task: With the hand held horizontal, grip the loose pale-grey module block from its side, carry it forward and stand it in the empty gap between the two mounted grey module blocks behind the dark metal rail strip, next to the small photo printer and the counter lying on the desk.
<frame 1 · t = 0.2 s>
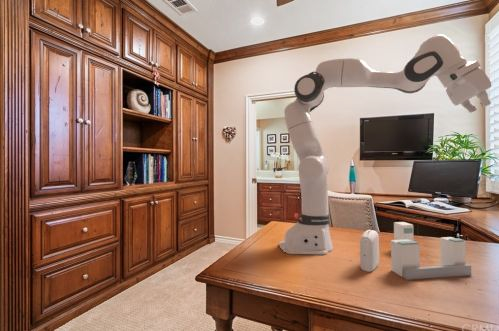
hand: (480, 108, 84), 54 cm above the table, fingers open, 8 cm apart
din mount: (423, 267, 83), on the table
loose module: (403, 250, 99), on the table
photo printer: (370, 267, 85), on the table
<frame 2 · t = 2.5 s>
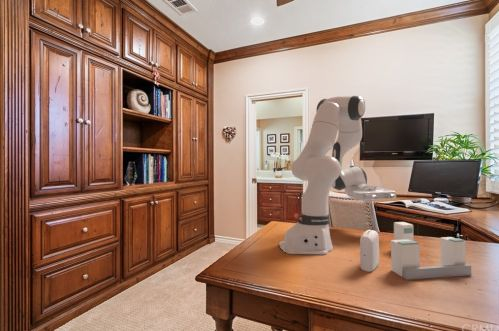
hand: (383, 197, 111), 20 cm above the table, fingers open, 8 cm apart
nothing on the table moved.
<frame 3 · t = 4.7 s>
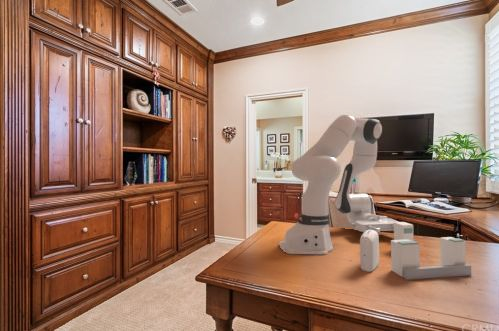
hand: (388, 230, 108), 6 cm above the table, fingers open, 8 cm apart
nothing on the table moved.
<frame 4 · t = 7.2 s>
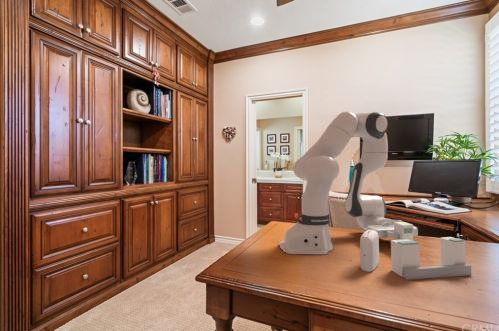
hand: (405, 236, 98), 6 cm above the table, fingers closed on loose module, 4 cm apart
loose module: (403, 250, 99), on the table, touching gripper
everything else where it was.
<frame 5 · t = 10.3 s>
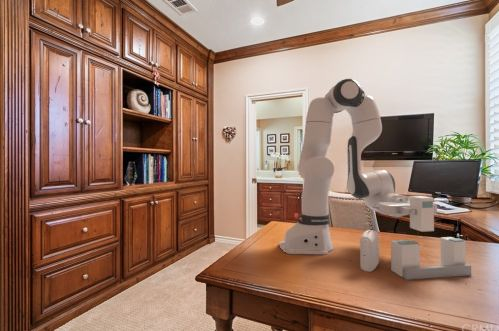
hand: (423, 212, 83), 19 cm above the table, fingers closed on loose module, 4 cm apart
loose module: (421, 229, 84), point 13 cm above the table, touching gripper
everything else where it was.
when the fingers open (7 cm above the table, at t = 13.4 s): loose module stays where it is, on the table.
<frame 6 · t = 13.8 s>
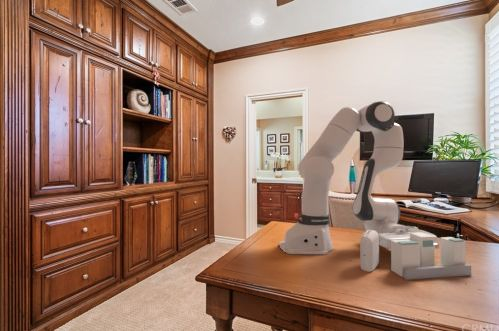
hand: (424, 247, 83), 7 cm above the table, fingers open, 8 cm apart
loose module: (422, 266, 84), on the table
everything else where it was.
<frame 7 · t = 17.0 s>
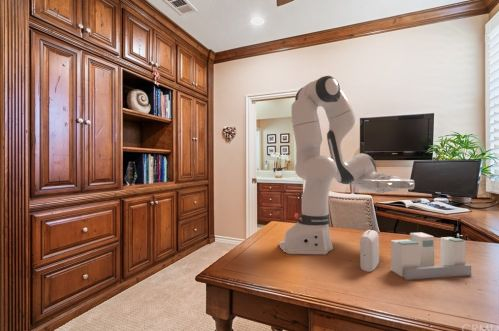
hand: (401, 185, 94), 27 cm above the table, fingers open, 8 cm apart
nothing on the table moved.
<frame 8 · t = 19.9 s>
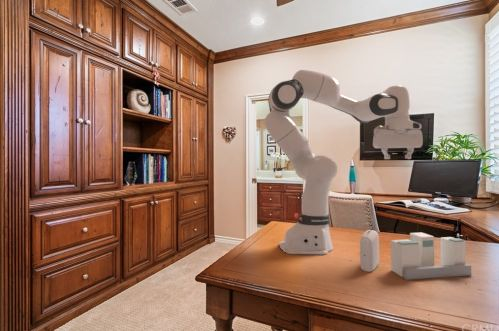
hand: (397, 158, 103), 37 cm above the table, fingers open, 8 cm apart
nothing on the table moved.
at the end: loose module 0.1 cm off-centre on the din mount, point 0.0 cm above the din mount's base; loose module tilted 0°; the gripper is holding nothing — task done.
